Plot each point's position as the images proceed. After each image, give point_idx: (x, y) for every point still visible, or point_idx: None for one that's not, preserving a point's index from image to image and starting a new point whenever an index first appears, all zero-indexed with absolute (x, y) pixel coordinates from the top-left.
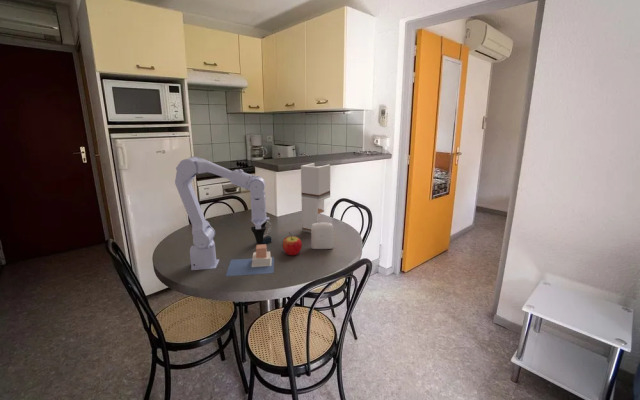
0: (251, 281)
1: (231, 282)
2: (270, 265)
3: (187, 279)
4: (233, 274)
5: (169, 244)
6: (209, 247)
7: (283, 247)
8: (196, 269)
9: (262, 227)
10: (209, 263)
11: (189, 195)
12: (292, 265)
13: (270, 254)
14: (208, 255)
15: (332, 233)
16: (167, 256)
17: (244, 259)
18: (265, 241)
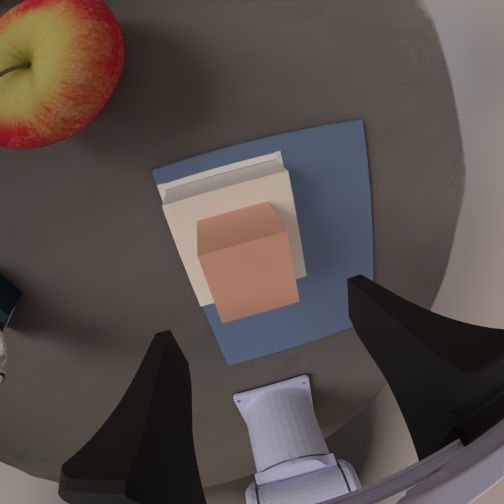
0: (411, 209)
1: (406, 280)
2: (279, 157)
3: (361, 394)
4: None
5: None
6: (324, 456)
7: (90, 122)
8: (313, 409)
9: (475, 399)
10: (307, 403)
11: None
12: (244, 25)
13: (165, 197)
14: (317, 430)
15: None
16: (227, 473)
17: (215, 320)
18: (3, 295)
